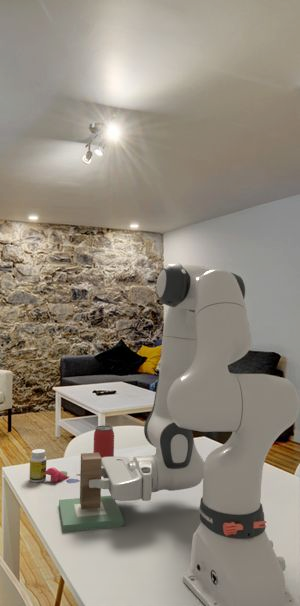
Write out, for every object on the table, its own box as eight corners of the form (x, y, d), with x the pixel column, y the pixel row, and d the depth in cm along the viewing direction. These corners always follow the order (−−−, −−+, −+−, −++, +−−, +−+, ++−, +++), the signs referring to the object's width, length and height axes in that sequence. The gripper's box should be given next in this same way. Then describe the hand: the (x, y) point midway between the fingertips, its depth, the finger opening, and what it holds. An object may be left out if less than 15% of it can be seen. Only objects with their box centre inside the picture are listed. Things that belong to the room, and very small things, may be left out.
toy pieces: (69, 489, 129) (70, 474, 129) (39, 481, 134) (39, 466, 134) (94, 476, 140) (94, 461, 140) (65, 469, 145) (65, 455, 145)
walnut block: (100, 507, 111) (101, 458, 111) (81, 509, 110) (82, 459, 110) (97, 500, 116) (98, 452, 116) (79, 501, 115) (80, 453, 115)
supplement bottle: (43, 483, 132) (43, 453, 132) (27, 482, 133) (27, 453, 133) (48, 476, 137) (48, 448, 137) (32, 476, 138) (33, 448, 138)
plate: (123, 525, 108) (123, 519, 108) (63, 532, 104) (63, 525, 104) (112, 501, 121) (112, 495, 121) (58, 505, 118) (59, 499, 118)
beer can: (91, 462, 151) (92, 425, 151) (111, 460, 153) (111, 424, 153) (95, 468, 145) (96, 430, 145) (115, 467, 147) (116, 429, 147)
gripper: (132, 449, 126) (82, 452, 123) (152, 476, 107) (92, 481, 103) (132, 472, 126) (82, 475, 123) (151, 503, 107) (92, 509, 103)
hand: (87, 478), depth 113 cm, fingers closed on walnut block, 4 cm apart
